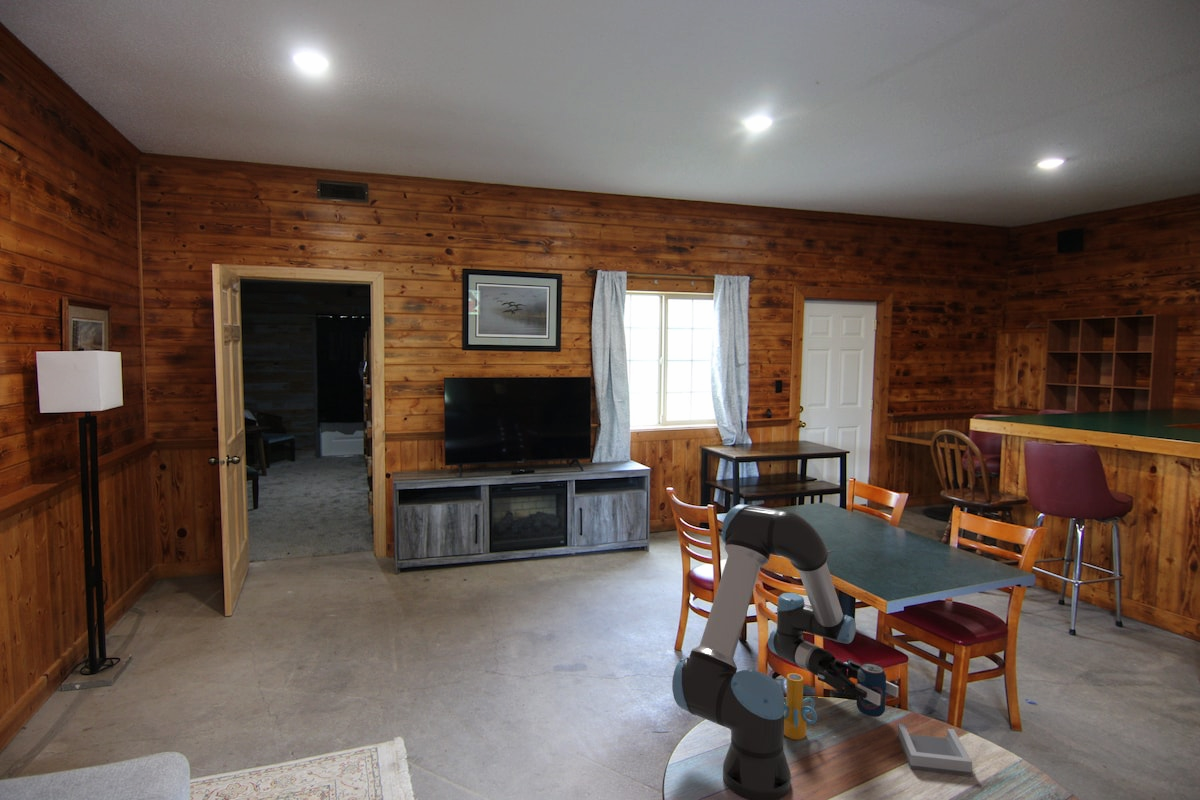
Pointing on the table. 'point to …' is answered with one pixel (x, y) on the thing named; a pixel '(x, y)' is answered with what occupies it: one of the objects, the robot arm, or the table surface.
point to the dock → (935, 752)
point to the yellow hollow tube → (796, 708)
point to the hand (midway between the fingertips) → (888, 696)
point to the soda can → (872, 688)
